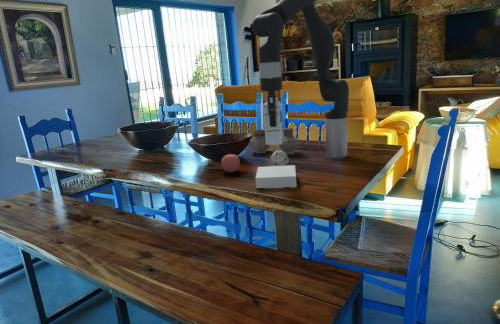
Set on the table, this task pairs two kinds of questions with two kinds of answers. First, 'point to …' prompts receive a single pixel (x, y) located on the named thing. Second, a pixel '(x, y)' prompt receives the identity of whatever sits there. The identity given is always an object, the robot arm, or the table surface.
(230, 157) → the apple
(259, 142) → the pottery
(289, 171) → the stand
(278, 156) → the game die
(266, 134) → the syrup box
